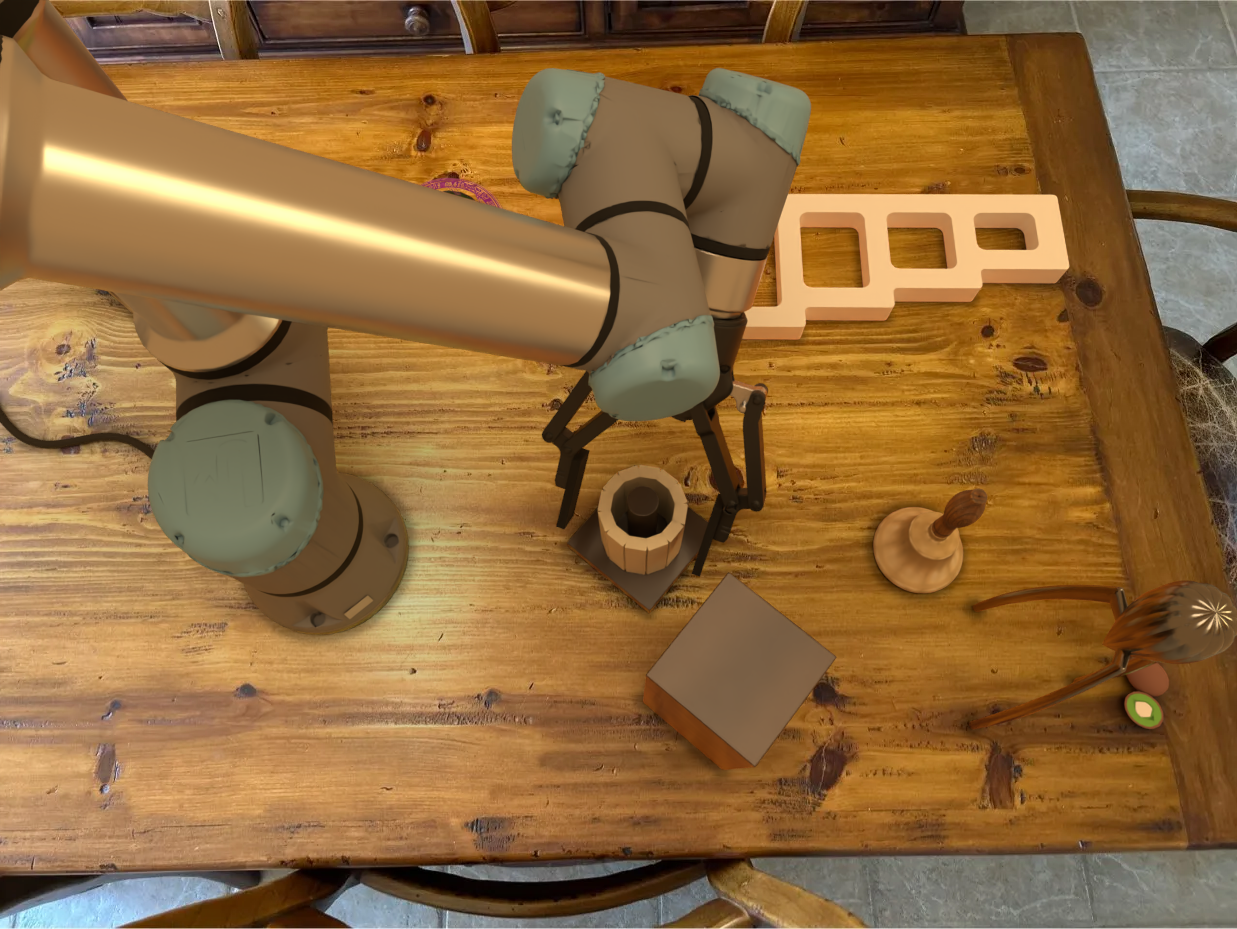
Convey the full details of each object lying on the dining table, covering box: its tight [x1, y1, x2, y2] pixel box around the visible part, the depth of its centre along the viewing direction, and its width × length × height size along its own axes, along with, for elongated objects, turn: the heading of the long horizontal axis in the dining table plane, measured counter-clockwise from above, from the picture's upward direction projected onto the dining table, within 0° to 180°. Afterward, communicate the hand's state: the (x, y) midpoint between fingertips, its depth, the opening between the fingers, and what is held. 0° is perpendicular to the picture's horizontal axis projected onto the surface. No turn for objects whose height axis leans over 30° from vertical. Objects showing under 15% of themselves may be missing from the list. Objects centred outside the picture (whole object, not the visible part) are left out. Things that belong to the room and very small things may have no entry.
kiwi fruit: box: [1123, 656, 1170, 730], centre depth 77 cm, size 6×5×3 cm
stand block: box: [642, 571, 837, 771], centre depth 69 cm, size 9×9×22 cm
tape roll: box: [597, 464, 689, 575], centre depth 78 cm, size 7×7×9 cm
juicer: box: [968, 579, 1237, 730], centre depth 65 cm, size 10×11×30 cm
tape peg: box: [566, 464, 709, 614], centre depth 78 cm, size 10×10×12 cm
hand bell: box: [872, 487, 988, 594], centre depth 75 cm, size 8×8×16 cm
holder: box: [742, 193, 1070, 341], centre depth 91 cm, size 45×18×3 cm, turn 89°
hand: (630, 544), depth 75 cm, fingers open, 11 cm apart
